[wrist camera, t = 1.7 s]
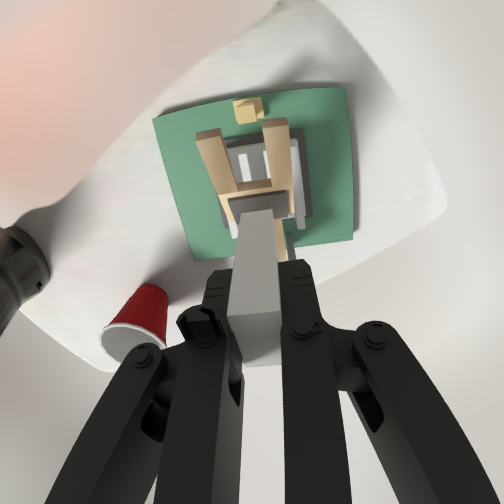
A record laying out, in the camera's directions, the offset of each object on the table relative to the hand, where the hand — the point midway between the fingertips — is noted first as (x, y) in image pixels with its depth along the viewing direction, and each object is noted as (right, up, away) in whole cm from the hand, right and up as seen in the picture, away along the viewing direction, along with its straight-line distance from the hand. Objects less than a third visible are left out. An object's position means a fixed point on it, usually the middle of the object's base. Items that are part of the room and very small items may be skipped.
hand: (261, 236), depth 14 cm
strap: (+1, +2, +10) cm, 10 cm away
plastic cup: (-17, -8, +31) cm, 36 cm away
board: (+1, +9, +19) cm, 21 cm away
